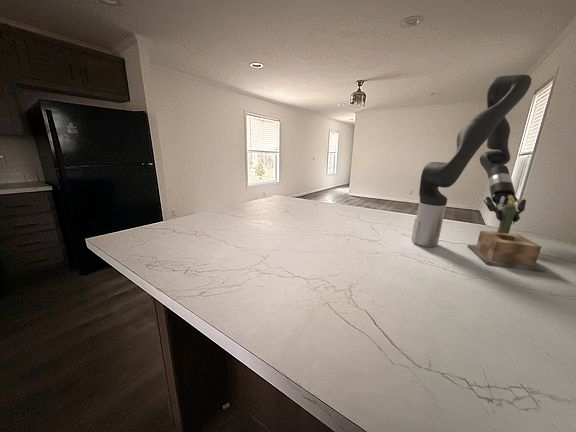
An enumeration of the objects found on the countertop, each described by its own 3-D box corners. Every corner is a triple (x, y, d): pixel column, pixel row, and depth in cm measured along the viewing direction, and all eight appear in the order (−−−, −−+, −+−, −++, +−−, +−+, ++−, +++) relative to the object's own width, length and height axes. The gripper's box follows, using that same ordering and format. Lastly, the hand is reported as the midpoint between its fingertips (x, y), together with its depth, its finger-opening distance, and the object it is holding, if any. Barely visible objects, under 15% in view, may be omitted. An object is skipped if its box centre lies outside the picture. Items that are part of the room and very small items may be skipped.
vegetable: (508, 244, 94) (523, 196, 88) (496, 243, 95) (510, 196, 89) (501, 240, 98) (515, 194, 92) (489, 239, 99) (502, 193, 93)
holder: (486, 264, 79) (492, 242, 76) (467, 246, 93) (472, 228, 91) (545, 272, 74) (554, 250, 72) (516, 252, 89) (522, 233, 86)
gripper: (485, 179, 98) (492, 213, 91) (527, 182, 94) (537, 218, 86) (477, 190, 105) (482, 222, 97) (515, 192, 100) (524, 227, 93)
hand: (508, 220), depth 92 cm, fingers closed on vegetable, 4 cm apart
